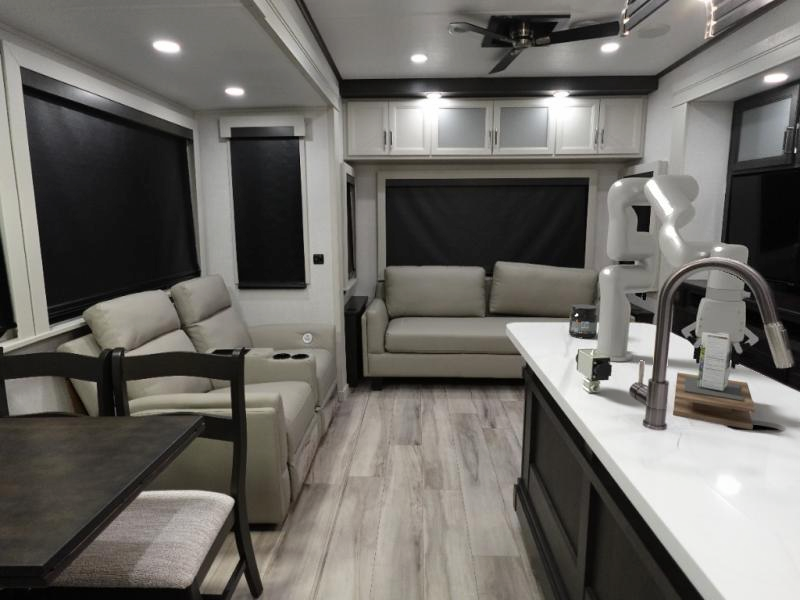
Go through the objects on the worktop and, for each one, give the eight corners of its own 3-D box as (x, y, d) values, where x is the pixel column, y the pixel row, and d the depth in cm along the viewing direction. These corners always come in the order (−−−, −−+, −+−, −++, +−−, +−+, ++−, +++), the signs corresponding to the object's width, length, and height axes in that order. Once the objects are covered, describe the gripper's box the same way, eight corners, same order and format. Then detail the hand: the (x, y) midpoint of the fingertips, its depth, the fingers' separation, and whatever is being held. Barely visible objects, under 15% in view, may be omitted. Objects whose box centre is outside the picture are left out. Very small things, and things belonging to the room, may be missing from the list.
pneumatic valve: (593, 399, 129) (596, 356, 127) (573, 383, 141) (575, 344, 138) (613, 398, 130) (616, 355, 128) (591, 383, 141) (594, 343, 139)
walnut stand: (675, 389, 136) (677, 371, 135) (744, 400, 128) (747, 381, 127) (672, 414, 119) (675, 394, 118) (752, 429, 111) (755, 407, 110)
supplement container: (582, 331, 201) (584, 303, 198) (602, 337, 191) (604, 307, 189) (562, 334, 196) (564, 305, 194) (582, 340, 187) (584, 310, 185)
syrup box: (702, 380, 127) (706, 326, 124) (728, 385, 123) (734, 329, 120) (696, 386, 123) (701, 331, 120) (724, 391, 119) (729, 334, 116)
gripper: (765, 296, 117) (755, 366, 120) (683, 289, 126) (675, 355, 129) (769, 301, 111) (759, 375, 114) (682, 294, 120) (674, 363, 123)
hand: (715, 364), depth 122 cm, fingers open, 7 cm apart
